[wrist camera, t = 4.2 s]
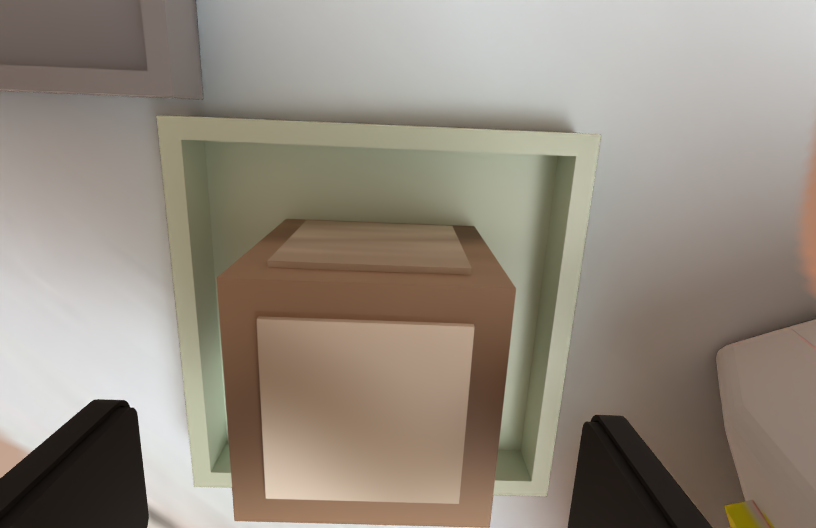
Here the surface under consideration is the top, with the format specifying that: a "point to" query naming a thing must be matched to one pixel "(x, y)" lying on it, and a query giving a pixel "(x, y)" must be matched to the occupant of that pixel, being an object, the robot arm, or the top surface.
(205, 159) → the green tray
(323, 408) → the letter block
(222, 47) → the top surface
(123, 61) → the grey tray
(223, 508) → the top surface
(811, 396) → the electrical switch box
